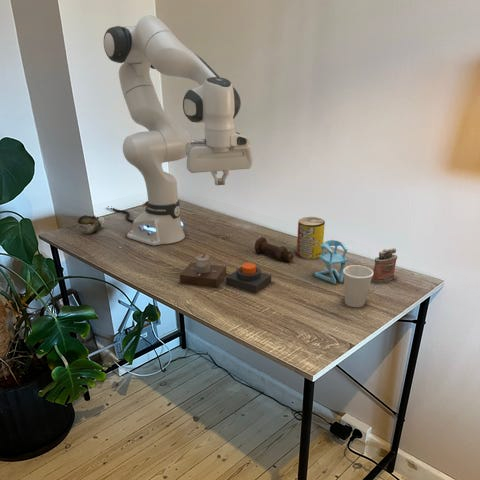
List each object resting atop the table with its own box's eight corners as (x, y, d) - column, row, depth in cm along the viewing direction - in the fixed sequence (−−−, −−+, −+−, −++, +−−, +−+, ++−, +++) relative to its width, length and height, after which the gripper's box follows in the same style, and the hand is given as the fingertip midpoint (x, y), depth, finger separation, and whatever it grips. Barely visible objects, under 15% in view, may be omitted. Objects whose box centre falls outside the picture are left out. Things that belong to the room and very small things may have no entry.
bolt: (289, 268, 169) (257, 254, 178) (298, 257, 170) (266, 245, 179) (285, 257, 164) (252, 243, 173) (294, 246, 166) (261, 234, 175)
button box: (226, 284, 154) (225, 271, 152) (242, 274, 161) (242, 261, 158) (255, 293, 149) (255, 280, 147) (271, 282, 155) (271, 269, 153)
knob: (207, 273, 154) (206, 259, 152) (194, 272, 155) (193, 258, 153) (212, 268, 158) (211, 254, 155) (199, 266, 159) (198, 253, 157)
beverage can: (295, 248, 179) (297, 216, 173) (320, 249, 179) (323, 216, 173) (297, 258, 171) (299, 225, 165) (323, 258, 171) (326, 225, 165)
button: (238, 272, 152) (238, 266, 151) (246, 267, 155) (246, 261, 154) (250, 275, 150) (250, 269, 149) (258, 270, 153) (258, 264, 152)
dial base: (180, 283, 155) (179, 274, 154) (191, 270, 164) (191, 261, 162) (216, 288, 152) (216, 278, 151) (226, 274, 161) (226, 265, 159)
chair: (328, 285, 153) (331, 249, 147) (314, 275, 160) (316, 240, 154) (349, 281, 156) (353, 245, 150) (334, 271, 162) (337, 236, 156)
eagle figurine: (90, 222, 202) (74, 225, 195) (97, 209, 199) (80, 211, 191) (102, 235, 201) (86, 238, 194) (109, 222, 197) (93, 224, 190)
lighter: (376, 284, 154) (380, 254, 149) (369, 280, 156) (373, 250, 151) (396, 278, 157) (401, 249, 152) (389, 274, 160) (393, 245, 154)
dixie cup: (348, 293, 149) (352, 262, 144) (374, 301, 144) (378, 270, 139) (334, 303, 143) (337, 272, 138) (360, 312, 138) (364, 280, 133)
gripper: (187, 142, 142) (189, 190, 149) (254, 138, 148) (253, 184, 155) (182, 138, 147) (185, 184, 154) (247, 134, 153) (247, 179, 160)
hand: (219, 184), depth 155 cm, fingers closed
